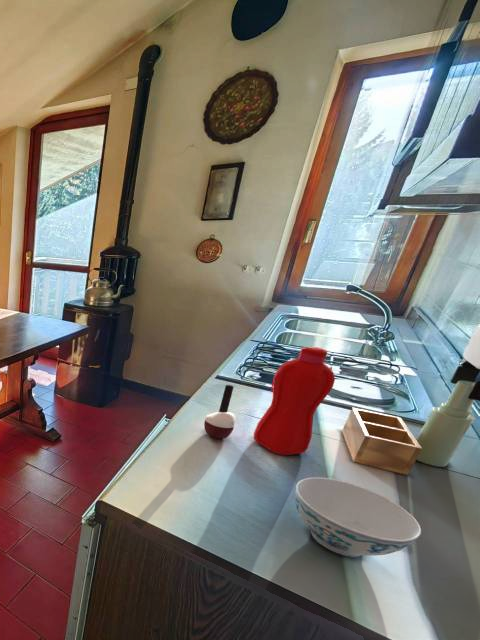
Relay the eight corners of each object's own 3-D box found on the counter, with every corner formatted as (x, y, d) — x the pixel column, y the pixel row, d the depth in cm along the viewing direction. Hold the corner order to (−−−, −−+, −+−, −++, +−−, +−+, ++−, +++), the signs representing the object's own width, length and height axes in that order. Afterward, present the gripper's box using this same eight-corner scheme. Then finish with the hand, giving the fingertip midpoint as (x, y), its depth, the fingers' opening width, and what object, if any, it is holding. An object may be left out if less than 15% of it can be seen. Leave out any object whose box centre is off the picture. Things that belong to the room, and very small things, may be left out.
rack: (388, 441, 96) (401, 417, 94) (407, 475, 84) (422, 448, 81) (341, 431, 101) (352, 407, 98) (353, 461, 88) (365, 435, 86)
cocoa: (219, 445, 94) (233, 401, 89) (194, 434, 99) (205, 391, 94) (239, 435, 99) (253, 392, 94) (214, 424, 104) (226, 383, 99)
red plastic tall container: (270, 431, 101) (305, 338, 91) (312, 455, 91) (355, 353, 81) (239, 434, 99) (271, 340, 89) (278, 458, 89) (318, 356, 79)
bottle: (441, 457, 90) (485, 382, 83) (450, 469, 86) (498, 391, 78) (405, 449, 93) (444, 376, 86) (412, 460, 89) (454, 384, 81)
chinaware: (426, 575, 60) (451, 537, 57) (337, 581, 59) (357, 543, 56) (335, 508, 74) (351, 475, 71) (261, 512, 73) (274, 479, 70)
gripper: (570, 324, 67) (517, 412, 74) (521, 306, 80) (479, 382, 87) (503, 318, 71) (458, 402, 78) (466, 302, 84) (430, 375, 91)
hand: (469, 391), depth 83 cm, fingers open, 9 cm apart
